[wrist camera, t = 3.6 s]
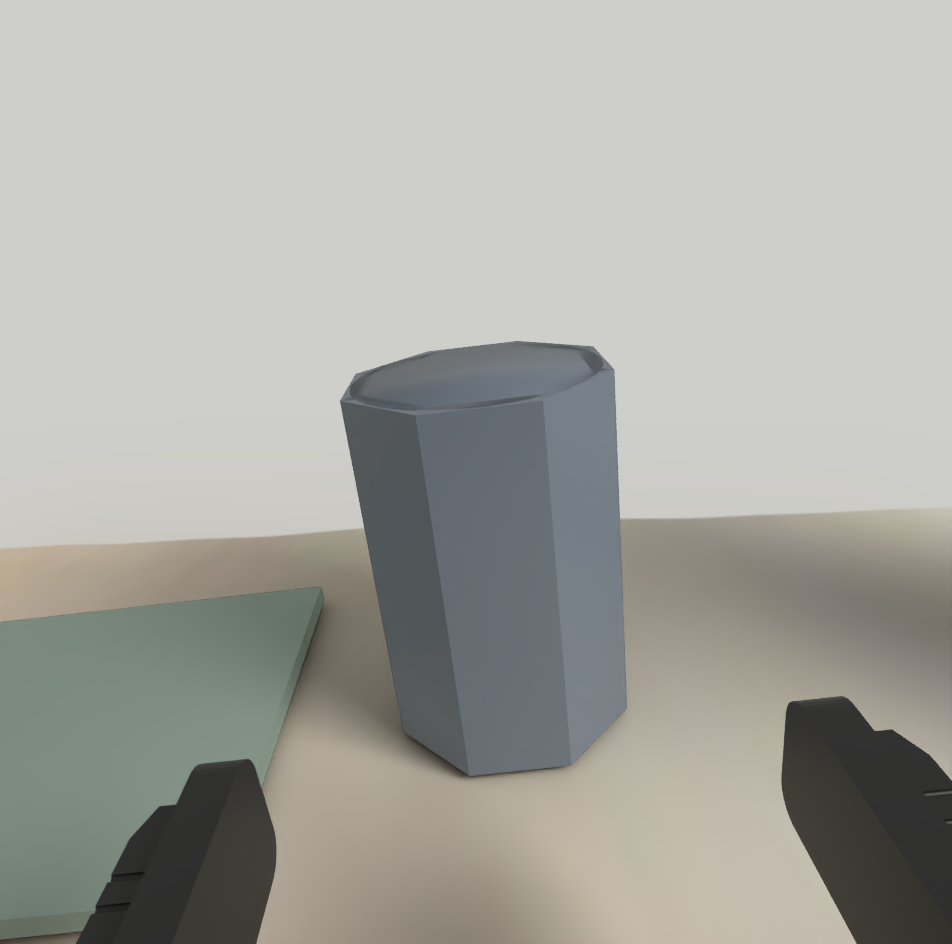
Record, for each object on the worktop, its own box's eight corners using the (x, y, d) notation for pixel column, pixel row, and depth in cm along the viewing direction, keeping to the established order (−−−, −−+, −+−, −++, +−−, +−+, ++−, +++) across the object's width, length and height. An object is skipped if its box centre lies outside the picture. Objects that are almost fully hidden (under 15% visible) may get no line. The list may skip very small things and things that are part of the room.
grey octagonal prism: (596, 617, 24) (581, 333, 20) (643, 757, 18) (633, 390, 14) (412, 637, 24) (364, 358, 21) (398, 783, 18) (326, 425, 14)
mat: (324, 599, 27) (321, 586, 27) (218, 916, 15) (211, 898, 15) (-22, 637, 28) (-28, 625, 27) (-395, 979, 15) (-411, 962, 15)
